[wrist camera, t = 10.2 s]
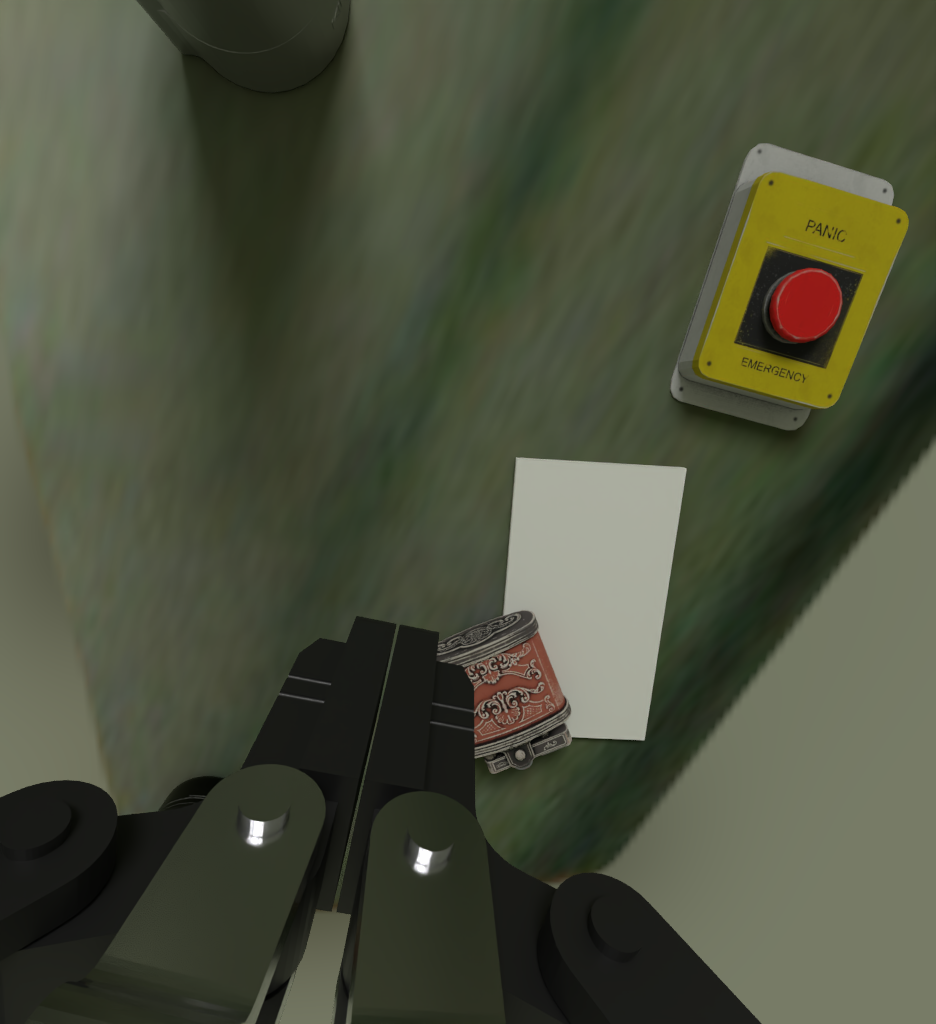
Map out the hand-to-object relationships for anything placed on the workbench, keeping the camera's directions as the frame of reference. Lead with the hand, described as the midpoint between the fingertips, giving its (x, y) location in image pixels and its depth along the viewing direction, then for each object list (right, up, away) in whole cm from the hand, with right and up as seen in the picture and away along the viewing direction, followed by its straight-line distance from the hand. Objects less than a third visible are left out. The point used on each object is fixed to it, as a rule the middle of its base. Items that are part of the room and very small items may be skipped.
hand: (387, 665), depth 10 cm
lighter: (+2, -5, +27) cm, 27 cm away
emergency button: (+20, +16, +25) cm, 36 cm away
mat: (+9, -4, +29) cm, 30 cm away
